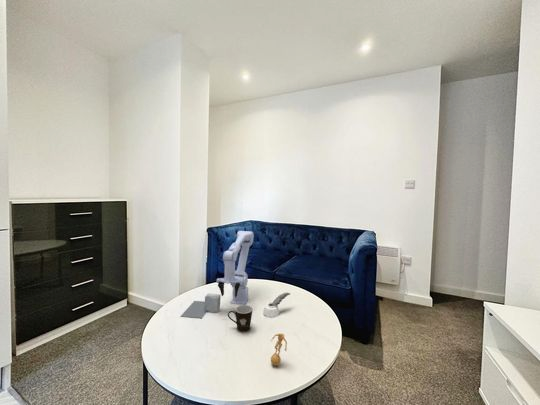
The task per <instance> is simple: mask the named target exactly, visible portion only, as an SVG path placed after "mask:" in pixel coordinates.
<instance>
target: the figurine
mask: <svg viewBox="0 0 540 405" xmlns="http://www.w3.org/2000/svg"><path fill="white" fill-rule="evenodd" d="M276 337H277V340H276V343H275V346H274V350H275V353H272V355H271V357H270V363H271V364H272V365H273V366H274V367H275V366H279V365H280V364H281V361H282V360H281V355H280V353H281V349H282V346H283V343H282V341H284V342H285V348H284V351H287V344H288V341H287V340H286V338H285V334H284V333H282V332H281V333H280V332H279V333H278V334H275V335H274V336H273V337H272V338H271V340H270V341H271V342H272V341H273V339H275V338H276ZM277 352H278V353H277Z"/></svg>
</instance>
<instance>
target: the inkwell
mask: <svg viewBox="0 0 540 405" xmlns="http://www.w3.org/2000/svg"><path fill="white" fill-rule="evenodd" d="M290 295H291V293H290V292H283V293H281V294H279V295H278V296H277V297H276V298H275V299H274V300H273V301H272V302H268V303H267V304H266V305H265V306H264V308H263V312H262V314H263V315H264V316H265V317H267V318H277V317H278V316H279V315H280V310H279V305H280V304H281V302H283V300H284V299H286V297H288V296H290Z"/></svg>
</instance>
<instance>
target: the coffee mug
mask: <svg viewBox="0 0 540 405" xmlns="http://www.w3.org/2000/svg"><path fill="white" fill-rule="evenodd" d="M234 309H235V310H230V311H228V313H227V317H228V319H229V320H230V321H232V322H234V323H235V325H236V330H237V331H238V332H240V333H246V332H248V331H250V330H251V324H252V316H253V307H252V306H251V305H248V304H241V305H240V304H239V305H237V306H236V307H235V308H234ZM230 313H233V314H234V316H235V320H234V318H232V317H231V316H230Z"/></svg>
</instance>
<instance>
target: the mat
mask: <svg viewBox="0 0 540 405" xmlns="http://www.w3.org/2000/svg"><path fill="white" fill-rule="evenodd" d="M204 308H205V300H203V301H201V300H193V302H192V303H190V305H189V306H188V307H187V308H186V309H185V310H184V311H183V312H182V314H181V315H180V317H181V318H191V319H203V318H204V316H205V315H206V314H207V312H208V311H204Z"/></svg>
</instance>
